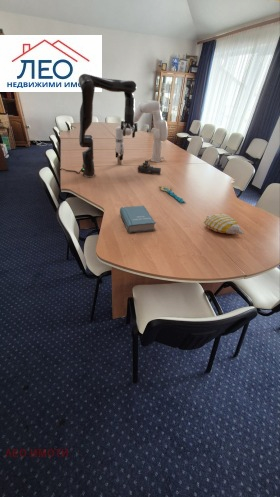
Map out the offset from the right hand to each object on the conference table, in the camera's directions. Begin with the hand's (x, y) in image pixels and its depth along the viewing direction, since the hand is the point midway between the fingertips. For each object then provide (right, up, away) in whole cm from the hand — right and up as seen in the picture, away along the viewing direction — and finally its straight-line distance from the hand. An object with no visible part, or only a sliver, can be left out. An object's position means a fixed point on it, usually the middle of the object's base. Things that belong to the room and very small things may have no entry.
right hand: (119, 158), depth 230 cm
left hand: (+13, -3, -52) cm, 53 cm away
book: (+20, -77, -92) cm, 122 cm away
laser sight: (+30, -20, -14) cm, 39 cm away
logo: (+48, -50, -53) cm, 88 cm away
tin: (0, -5, +4) cm, 6 cm away
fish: (+73, -82, -94) cm, 145 cm away
